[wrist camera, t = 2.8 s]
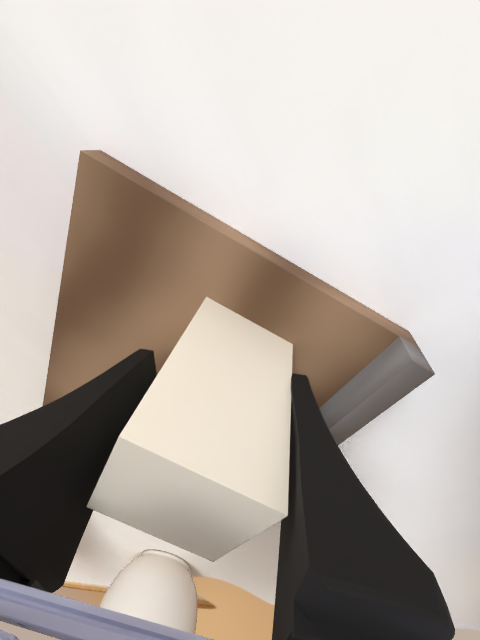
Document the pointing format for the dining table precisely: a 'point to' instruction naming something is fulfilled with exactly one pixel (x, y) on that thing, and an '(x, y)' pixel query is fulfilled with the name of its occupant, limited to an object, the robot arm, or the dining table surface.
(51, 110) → the dining table surface
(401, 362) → the shelf board
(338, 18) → the dining table surface
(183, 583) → the lidded jar
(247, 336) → the carton
